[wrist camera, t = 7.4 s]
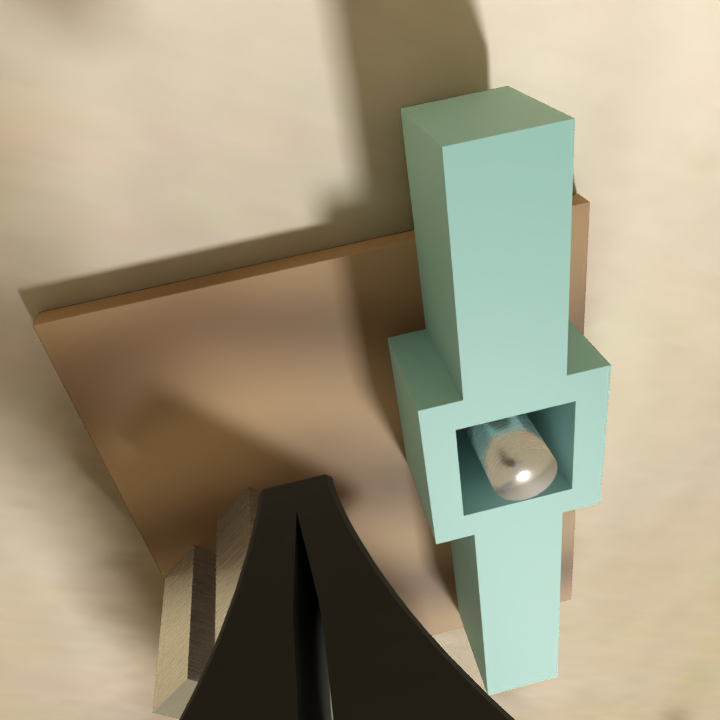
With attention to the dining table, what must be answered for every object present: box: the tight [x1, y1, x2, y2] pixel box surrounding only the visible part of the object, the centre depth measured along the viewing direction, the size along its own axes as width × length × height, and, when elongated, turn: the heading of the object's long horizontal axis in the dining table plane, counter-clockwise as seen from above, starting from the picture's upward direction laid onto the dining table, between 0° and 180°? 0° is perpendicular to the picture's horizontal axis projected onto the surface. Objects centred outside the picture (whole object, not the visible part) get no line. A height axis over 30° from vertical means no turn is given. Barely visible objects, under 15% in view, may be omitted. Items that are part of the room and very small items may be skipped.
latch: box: [388, 86, 611, 695], centre depth 22 cm, size 23×6×4 cm, turn 9°
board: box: [33, 194, 590, 636], centre depth 25 cm, size 20×17×1 cm
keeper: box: [152, 487, 333, 720], centre depth 24 cm, size 6×8×5 cm
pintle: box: [464, 413, 557, 501], centre depth 21 cm, size 2×2×5 cm
